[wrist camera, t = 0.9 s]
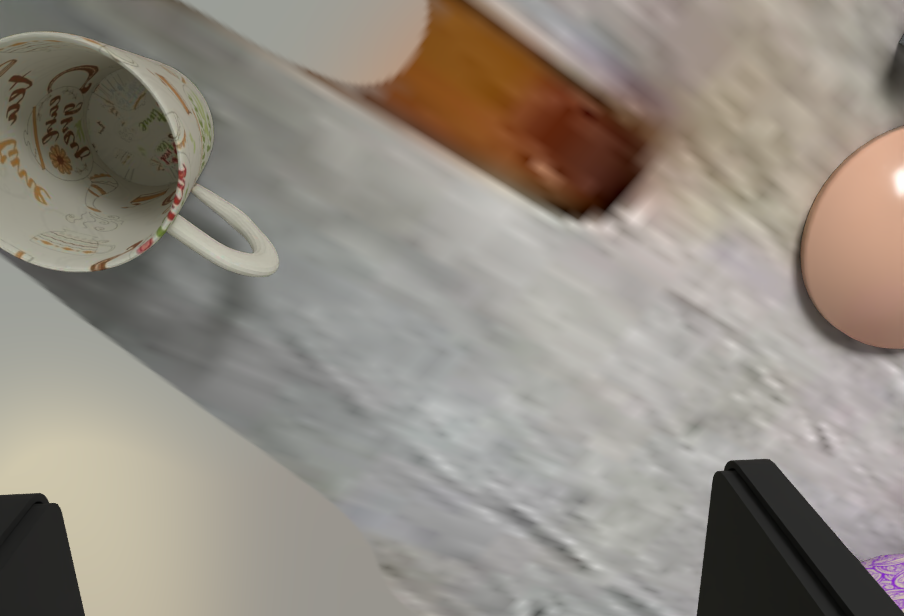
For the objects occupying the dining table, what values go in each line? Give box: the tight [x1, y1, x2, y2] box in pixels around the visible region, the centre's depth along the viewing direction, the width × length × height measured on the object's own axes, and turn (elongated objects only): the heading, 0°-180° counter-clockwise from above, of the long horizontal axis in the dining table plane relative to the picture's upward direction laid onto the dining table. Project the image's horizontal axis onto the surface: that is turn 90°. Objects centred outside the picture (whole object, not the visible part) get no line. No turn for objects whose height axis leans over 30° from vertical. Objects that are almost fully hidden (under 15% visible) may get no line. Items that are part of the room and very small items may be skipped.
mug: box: [0, 31, 279, 277], centre depth 32 cm, size 8×13×10 cm, turn 51°
